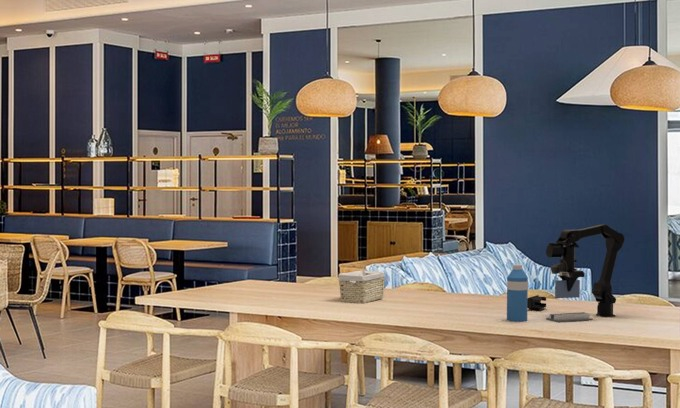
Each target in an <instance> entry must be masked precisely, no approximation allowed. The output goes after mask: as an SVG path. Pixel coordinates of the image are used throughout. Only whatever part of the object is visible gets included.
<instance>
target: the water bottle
mask: <svg viewBox="0 0 680 408" xmlns="http://www.w3.org/2000/svg"><path fill="white" fill-rule="evenodd" d="M528 278H529V277H528V275H527V274H526V272H525V270H523V264H513V265H512V270H511V271H510V272H509V274H508V275H507V277H506V321H508V322H517V323H518V322H519V323H521V322H527V321H528V308H527V301H528V298H529V297H528V293H529V292H528V291H529V290H528V288H529V287H528V284H529V279H528Z"/></svg>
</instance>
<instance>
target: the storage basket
mask: <svg viewBox="0 0 680 408" xmlns="http://www.w3.org/2000/svg"><path fill="white" fill-rule="evenodd" d="M337 277H338V283H339V294H340V302H343V303H355V304H357V303H358V304H366V303H371V302H374V301H378V300H382V299H383V298H384V290H385V289H384V288H385V278H386V275H385V271H379V270H377V271H376V270H363V269H362V270H353V271H349V272H343V273H339V274H338V276H337Z"/></svg>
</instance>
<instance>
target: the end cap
mask: <svg viewBox="0 0 680 408" xmlns="http://www.w3.org/2000/svg"><path fill="white" fill-rule="evenodd" d="M542 301H543V302H542ZM545 301H547V297H546V296H540V295H534V296H530V297H528V301H527V310H529V311H531V312H542V311H545V310H547V309H546V307H547V303H546V302H545Z"/></svg>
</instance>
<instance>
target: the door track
mask: <svg viewBox="0 0 680 408" xmlns="http://www.w3.org/2000/svg"><path fill="white" fill-rule="evenodd" d="M548 316H549V317H545V319H546V320H548V321H551V322H554V323H555V322H556V323H571V322H573V323H575V322H589V320H593V318H590V313H589V312H582V311H581V312H580V311H578V312H561V313H558V312H557V313H549V315H548Z"/></svg>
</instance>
